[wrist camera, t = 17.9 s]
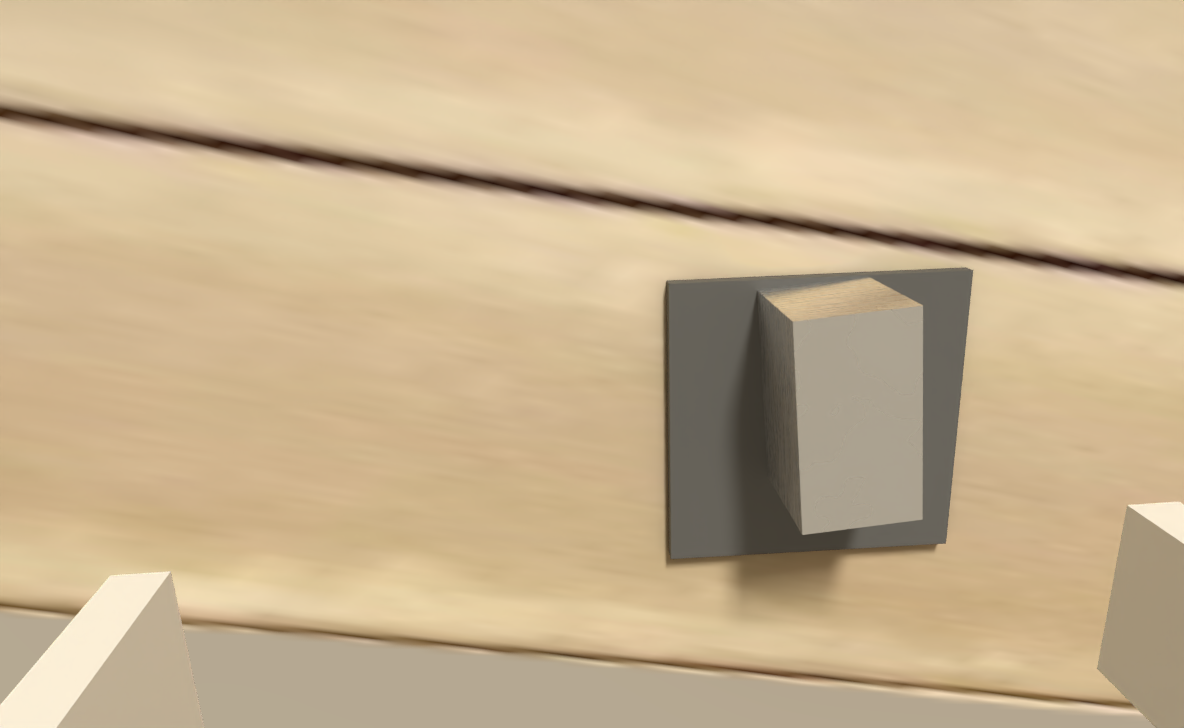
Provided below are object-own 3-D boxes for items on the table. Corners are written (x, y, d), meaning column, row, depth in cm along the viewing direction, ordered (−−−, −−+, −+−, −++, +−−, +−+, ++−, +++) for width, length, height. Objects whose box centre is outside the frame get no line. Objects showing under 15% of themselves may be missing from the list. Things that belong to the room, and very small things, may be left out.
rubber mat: (669, 551, 37) (671, 558, 36) (666, 280, 33) (668, 283, 33) (939, 536, 37) (945, 543, 37) (966, 267, 34) (973, 270, 33)
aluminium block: (767, 476, 35) (802, 535, 30) (757, 290, 33) (792, 321, 28) (871, 463, 35) (922, 519, 30) (868, 276, 33) (923, 305, 28)
